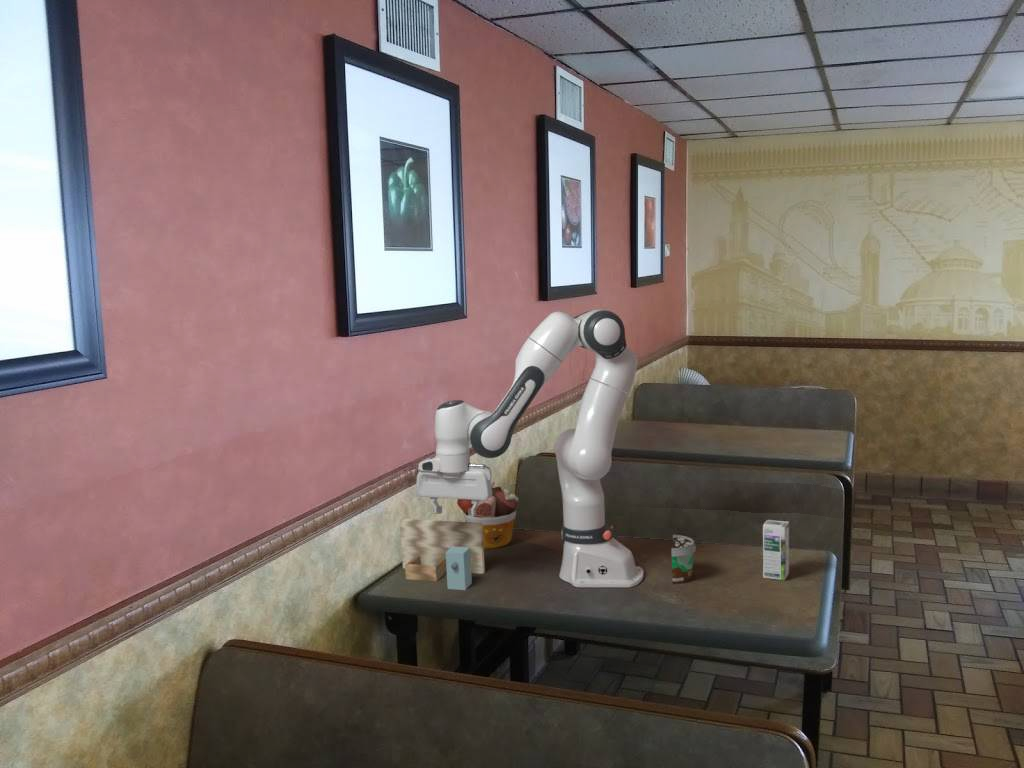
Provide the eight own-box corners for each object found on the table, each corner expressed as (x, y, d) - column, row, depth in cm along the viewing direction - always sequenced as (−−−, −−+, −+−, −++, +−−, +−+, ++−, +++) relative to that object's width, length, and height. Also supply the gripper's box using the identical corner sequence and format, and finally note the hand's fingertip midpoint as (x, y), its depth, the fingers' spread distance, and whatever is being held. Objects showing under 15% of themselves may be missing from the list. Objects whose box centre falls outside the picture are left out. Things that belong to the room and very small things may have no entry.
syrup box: (762, 578, 244) (762, 524, 242) (767, 571, 249) (767, 518, 247) (784, 581, 241) (784, 526, 239) (789, 573, 246) (789, 520, 244)
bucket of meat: (531, 538, 286) (528, 475, 283) (506, 555, 271) (503, 488, 268) (474, 532, 295) (471, 470, 292) (447, 547, 280) (443, 483, 277)
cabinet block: (471, 583, 249) (470, 547, 248) (464, 591, 244) (462, 554, 243) (454, 582, 251) (452, 546, 250) (446, 589, 245) (444, 553, 244)
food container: (696, 586, 240) (695, 549, 238) (672, 586, 241) (671, 548, 240) (696, 570, 252) (696, 534, 250) (673, 569, 253) (672, 534, 252)
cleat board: (484, 571, 258) (482, 522, 256) (473, 584, 249) (470, 533, 247) (405, 566, 265) (402, 518, 263) (390, 578, 256) (387, 528, 254)
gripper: (494, 461, 243) (496, 513, 245) (422, 458, 249) (424, 509, 251) (486, 467, 237) (488, 520, 239) (412, 463, 243) (414, 515, 245)
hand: (455, 514), depth 245 cm, fingers open, 8 cm apart
